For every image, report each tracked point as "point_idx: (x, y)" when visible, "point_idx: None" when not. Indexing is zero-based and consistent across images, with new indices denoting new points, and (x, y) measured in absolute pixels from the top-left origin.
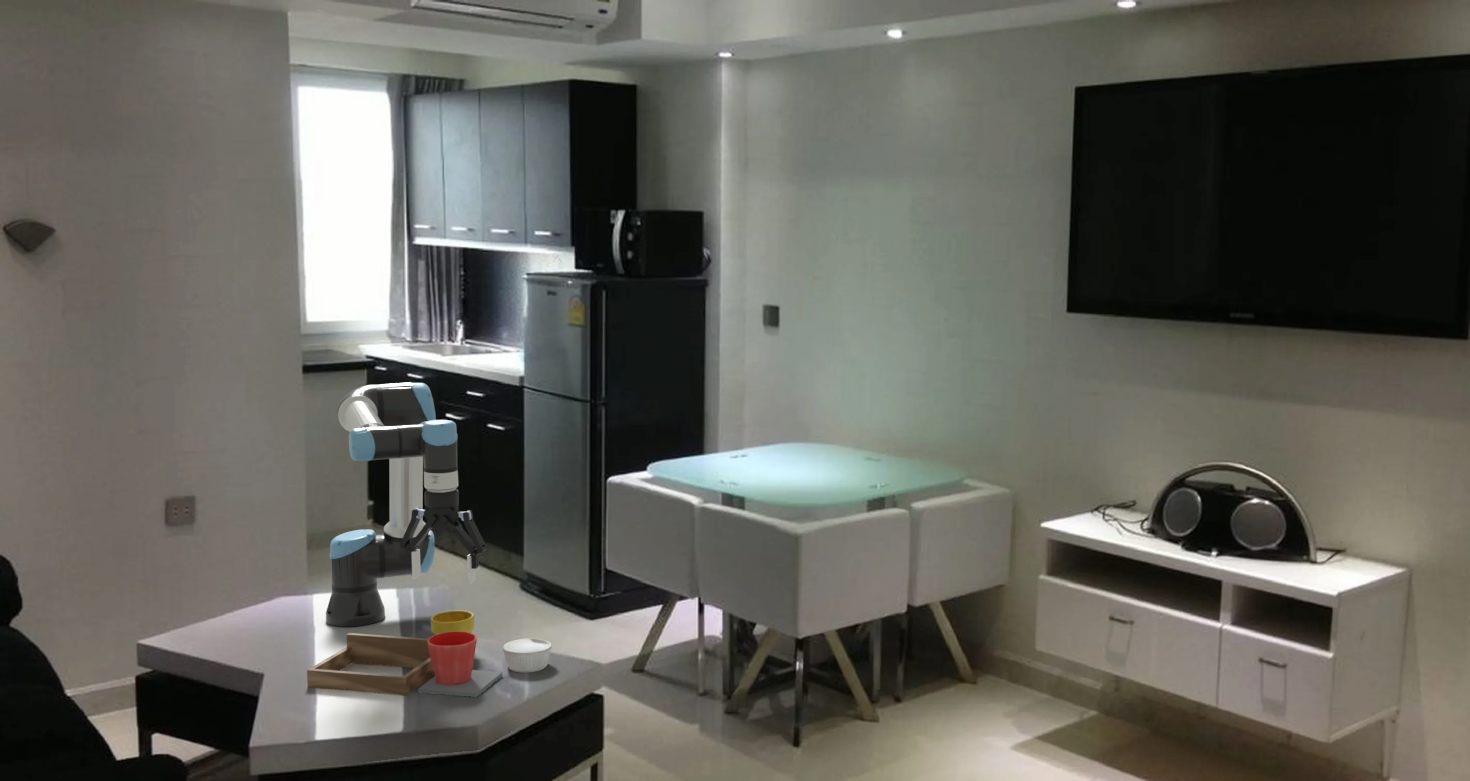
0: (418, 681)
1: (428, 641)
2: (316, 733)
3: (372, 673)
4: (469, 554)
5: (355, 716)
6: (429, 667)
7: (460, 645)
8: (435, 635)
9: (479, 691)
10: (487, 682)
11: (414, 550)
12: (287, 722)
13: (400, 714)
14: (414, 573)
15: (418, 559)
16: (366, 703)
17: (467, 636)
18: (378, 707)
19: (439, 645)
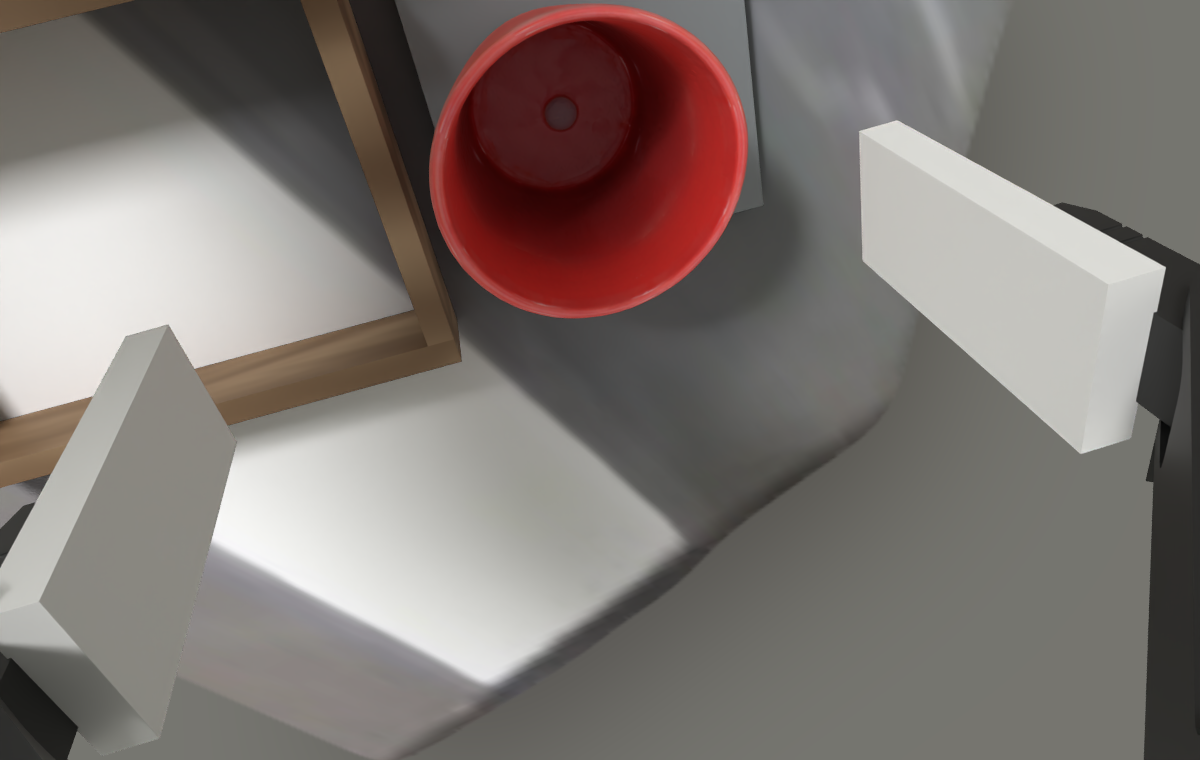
0: (420, 221)
1: (492, 288)
2: (452, 666)
3: (263, 392)
4: (1098, 391)
5: (450, 542)
6: (378, 108)
7: (713, 244)
8: (443, 175)
9: (759, 173)
10: (739, 62)
11: (47, 691)
12: (287, 667)
13: (584, 460)
14: (216, 495)
15: (130, 524)
16: (379, 452)
17: (610, 20)
18: (457, 456)
19: (606, 312)
